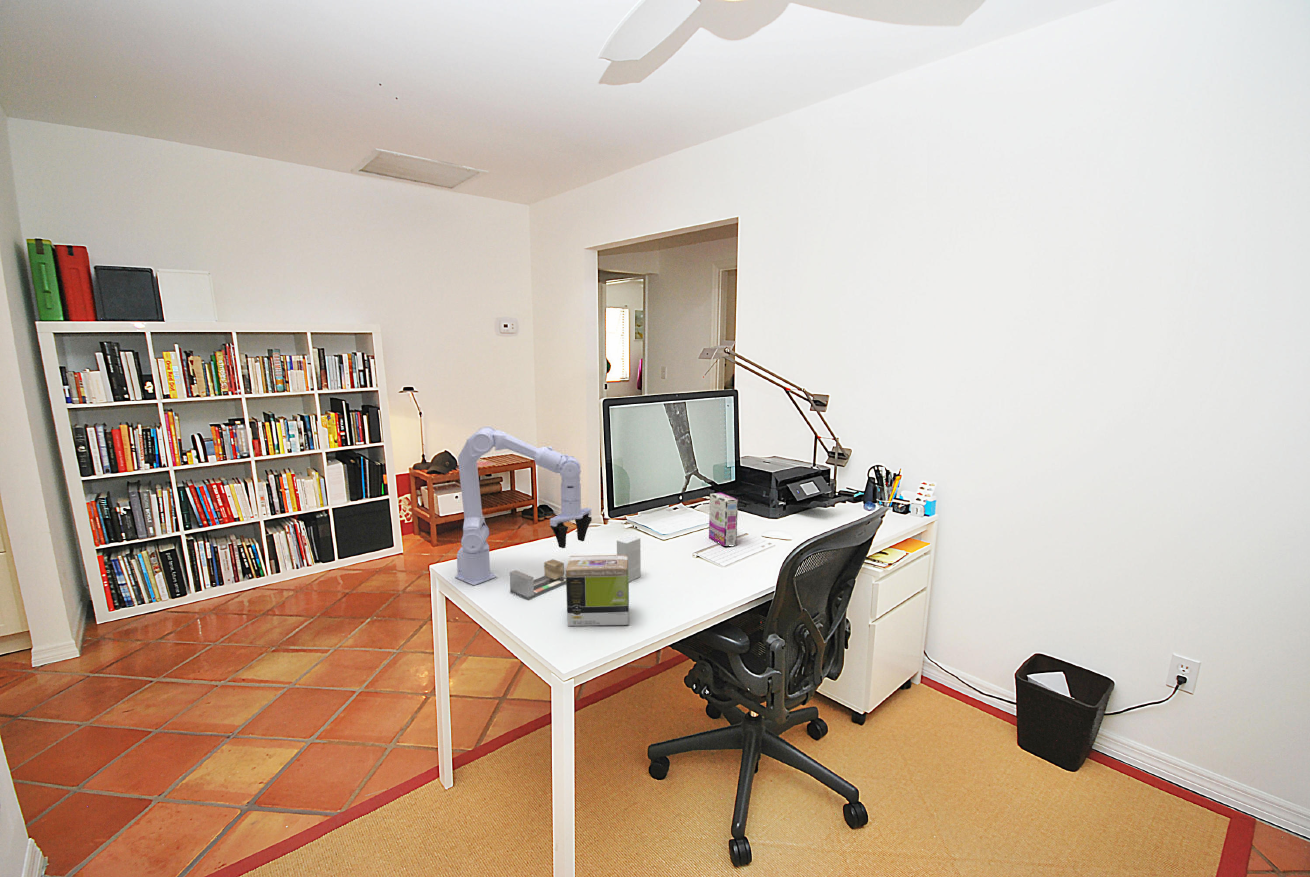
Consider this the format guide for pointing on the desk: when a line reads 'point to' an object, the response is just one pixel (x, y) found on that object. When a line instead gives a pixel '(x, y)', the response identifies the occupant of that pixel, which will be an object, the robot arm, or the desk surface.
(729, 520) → the candy bar box
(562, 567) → the gauge slider
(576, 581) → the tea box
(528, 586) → the gauge bed
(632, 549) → the skincare box
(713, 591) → the desk surface
